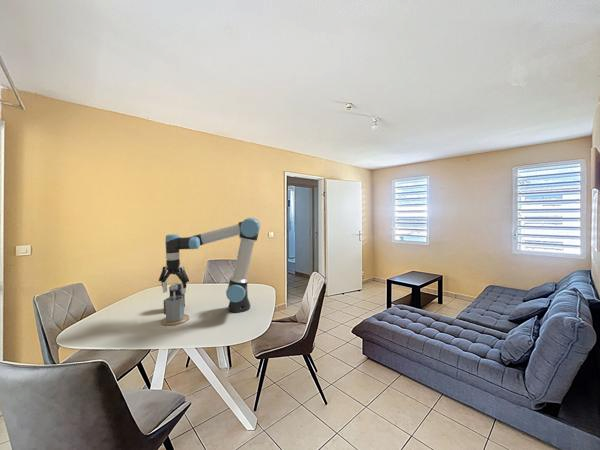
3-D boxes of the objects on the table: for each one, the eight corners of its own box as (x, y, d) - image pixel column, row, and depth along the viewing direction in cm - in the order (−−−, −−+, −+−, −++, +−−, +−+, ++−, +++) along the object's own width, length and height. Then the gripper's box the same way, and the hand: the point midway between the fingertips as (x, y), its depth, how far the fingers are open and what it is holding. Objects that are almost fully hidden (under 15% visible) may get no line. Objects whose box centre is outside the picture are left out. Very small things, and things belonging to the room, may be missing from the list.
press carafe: (194, 316, 163) (193, 295, 163) (177, 326, 148) (176, 303, 147) (173, 314, 167) (172, 293, 166) (154, 324, 151) (153, 302, 151)
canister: (179, 312, 171) (178, 286, 170) (166, 311, 173) (165, 285, 172) (188, 306, 180) (187, 282, 180) (176, 306, 182) (175, 281, 181)
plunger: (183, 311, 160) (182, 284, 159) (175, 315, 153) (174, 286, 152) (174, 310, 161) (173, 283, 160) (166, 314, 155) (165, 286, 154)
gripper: (194, 258, 157) (195, 292, 157) (160, 257, 162) (161, 290, 163) (186, 260, 149) (187, 295, 150) (151, 259, 155) (152, 293, 156)
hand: (174, 292), depth 157 cm, fingers open, 13 cm apart
